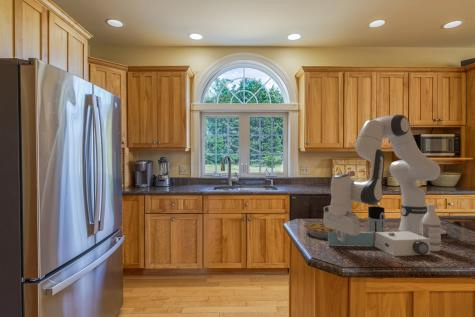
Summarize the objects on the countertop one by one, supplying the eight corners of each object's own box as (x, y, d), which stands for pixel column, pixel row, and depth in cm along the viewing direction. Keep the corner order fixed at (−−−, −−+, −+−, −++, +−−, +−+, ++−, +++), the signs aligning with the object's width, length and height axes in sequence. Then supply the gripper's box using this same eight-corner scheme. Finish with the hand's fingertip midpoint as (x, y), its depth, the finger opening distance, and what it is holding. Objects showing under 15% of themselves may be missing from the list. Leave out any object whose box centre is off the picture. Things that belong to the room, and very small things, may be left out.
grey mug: (381, 235, 156) (381, 206, 156) (394, 242, 142) (394, 211, 142) (364, 234, 156) (364, 206, 156) (375, 242, 142) (375, 211, 142)
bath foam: (423, 246, 137) (423, 202, 136) (441, 249, 132) (441, 203, 132) (420, 249, 131) (420, 204, 131) (439, 252, 127) (439, 205, 127)
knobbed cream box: (408, 245, 137) (408, 229, 137) (434, 256, 122) (434, 238, 122) (375, 246, 136) (375, 230, 136) (397, 258, 120) (397, 240, 120)
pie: (352, 241, 145) (352, 231, 145) (306, 239, 149) (306, 229, 149) (345, 230, 166) (345, 221, 166) (305, 228, 171) (305, 220, 171)
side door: (375, 246, 135) (375, 232, 135) (328, 245, 137) (328, 231, 137) (373, 245, 137) (373, 231, 137) (327, 244, 139) (327, 230, 139)
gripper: (363, 213, 126) (363, 246, 126) (332, 206, 145) (332, 234, 145) (351, 214, 123) (351, 248, 123) (321, 207, 142) (321, 236, 142)
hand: (340, 240), depth 134 cm, fingers closed
